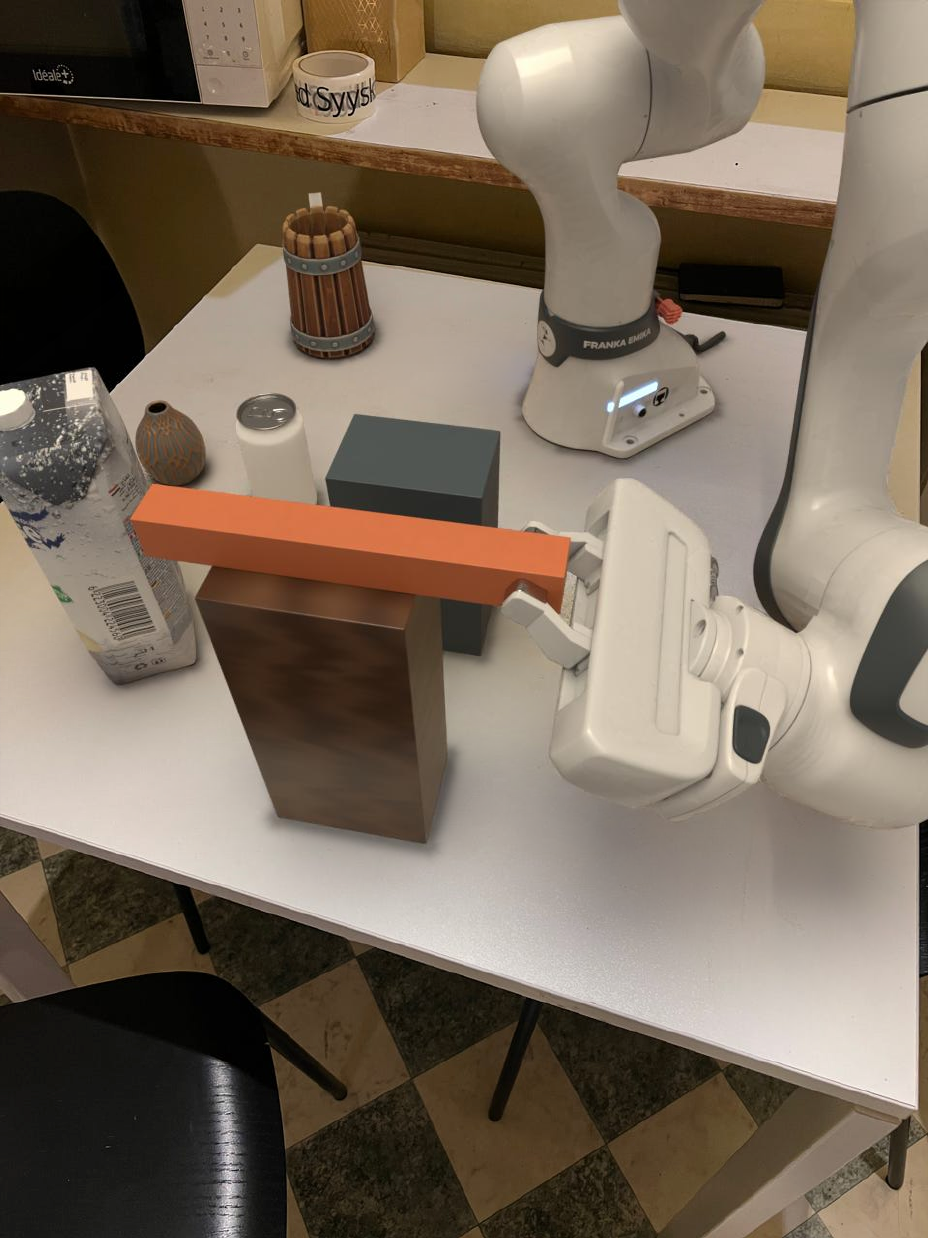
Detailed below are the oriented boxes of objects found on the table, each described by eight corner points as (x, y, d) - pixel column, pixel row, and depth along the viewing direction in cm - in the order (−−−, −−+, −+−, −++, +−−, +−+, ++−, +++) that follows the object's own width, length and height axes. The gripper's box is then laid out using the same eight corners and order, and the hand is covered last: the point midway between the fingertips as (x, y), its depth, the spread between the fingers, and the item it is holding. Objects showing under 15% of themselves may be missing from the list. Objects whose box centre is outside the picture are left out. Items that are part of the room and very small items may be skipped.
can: (307, 530, 88) (287, 435, 79) (247, 521, 89) (221, 427, 80) (326, 488, 92) (309, 394, 83) (268, 480, 93) (246, 386, 84)
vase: (180, 503, 91) (157, 436, 84) (133, 480, 93) (107, 413, 86) (225, 466, 95) (206, 399, 88) (179, 445, 97) (157, 379, 90)
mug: (379, 356, 108) (368, 238, 96) (294, 364, 107) (272, 247, 95) (367, 292, 118) (356, 178, 106) (290, 299, 117) (269, 185, 105)
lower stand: (496, 590, 82) (500, 430, 68) (480, 656, 77) (482, 498, 63) (375, 573, 84) (354, 413, 70) (352, 636, 79) (324, 477, 64)
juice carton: (190, 588, 83) (96, 339, 62) (209, 670, 77) (110, 423, 56) (96, 613, 81) (-35, 365, 60) (106, 699, 75) (-35, 455, 54)
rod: (566, 575, 48) (571, 536, 46) (560, 615, 47) (564, 577, 44) (166, 521, 52) (152, 483, 49) (145, 557, 50) (129, 519, 47)
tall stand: (447, 755, 71) (437, 527, 51) (426, 844, 66) (404, 630, 46) (308, 731, 73) (245, 501, 53) (276, 817, 68) (193, 598, 48)
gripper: (751, 521, 54) (571, 409, 51) (757, 812, 41) (516, 690, 38) (684, 573, 59) (515, 474, 55) (670, 849, 46) (448, 744, 42)
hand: (515, 564), depth 46 cm, fingers closed on rod, 3 cm apart
